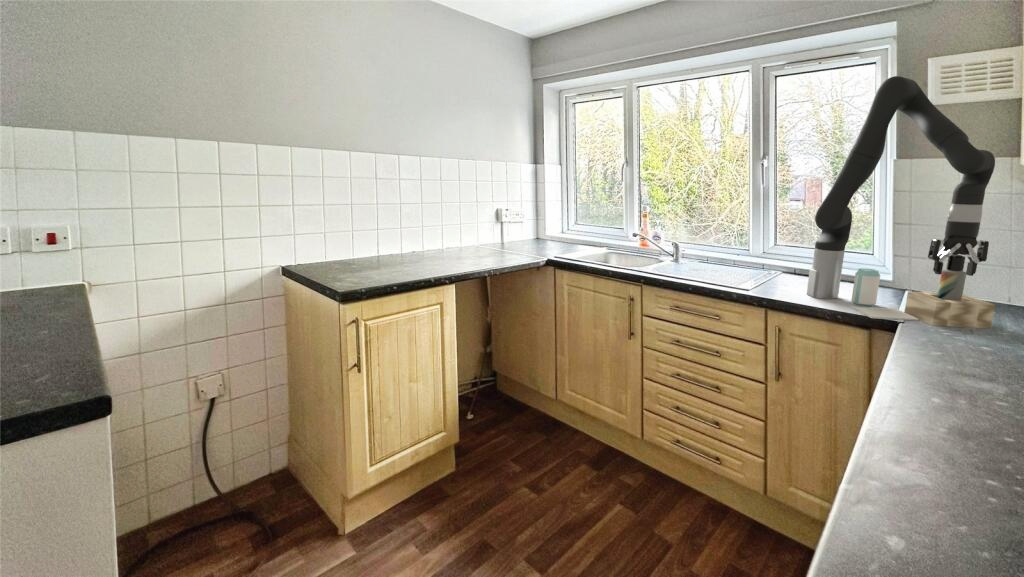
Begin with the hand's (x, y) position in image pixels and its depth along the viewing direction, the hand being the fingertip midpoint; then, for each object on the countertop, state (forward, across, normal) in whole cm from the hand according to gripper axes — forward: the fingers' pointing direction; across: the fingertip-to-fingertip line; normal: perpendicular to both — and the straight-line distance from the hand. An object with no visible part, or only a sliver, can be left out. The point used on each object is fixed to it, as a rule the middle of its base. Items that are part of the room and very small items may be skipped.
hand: (953, 274), depth 157 cm
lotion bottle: (+14, 0, 0) cm, 14 cm away
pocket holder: (+14, 0, 0) cm, 14 cm away
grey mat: (+14, -15, +4) cm, 21 cm away
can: (+14, -15, +18) cm, 27 cm away
